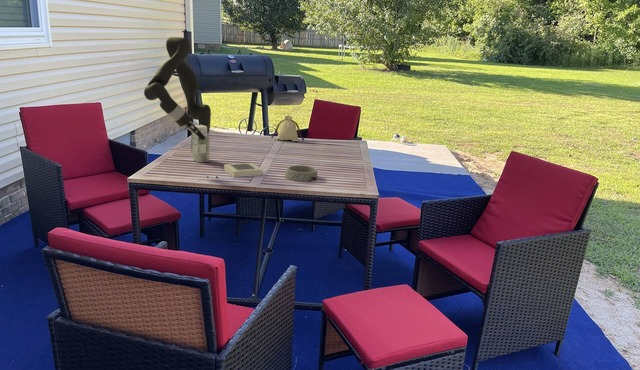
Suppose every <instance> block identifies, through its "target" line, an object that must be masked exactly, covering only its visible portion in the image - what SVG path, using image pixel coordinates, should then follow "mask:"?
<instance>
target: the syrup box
mask: <svg viewBox="0 0 640 370" xmlns="http://www.w3.org/2000/svg"><path fill="white" fill-rule="evenodd" d="M194 125H195V124H194ZM195 126H196V127H197V128H198V130H199V131H201V133H202V134H203V135H204V136H205V137H206V138H205V139H204V140H202V139H201V138H200V137H199V136H197V135H196V134H195V133H192V132H191V139H190V140H191V148H190V149H191V150H190V151H191V154H193V153H194V154H197V155H199V154H206V153H207V127H206V126H204V125H200V124H197V125H195ZM197 132H198V131H196V133H197Z"/></svg>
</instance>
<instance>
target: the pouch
mask: <svg viewBox="0 0 640 370" xmlns="http://www.w3.org/2000/svg"><path fill="white" fill-rule="evenodd" d="M293 118H294V117H293V116H291V115H285V116H284V119H283V120H281V121H280V122H279V123H278V124H277V126H276V127H275V130H274V133H273V134H272V135H271V137H270V138H271V139H273V138H274V137H275V135H276V134H277V132H278V134H277V137H276V139H279V140H299V137H300V138H301V140H302V141H303V142H304V141H305V138H304V137H303V136H302V133H301V130H300V127H299V125H298V123H297V121H295V120H293ZM278 129H279V131H278ZM299 141H300V140H299Z"/></svg>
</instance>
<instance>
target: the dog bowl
mask: <svg viewBox="0 0 640 370" xmlns="http://www.w3.org/2000/svg"><path fill="white" fill-rule="evenodd" d="M318 176H319V175H318V169H316V167H313V166H309V165H304V164H303V165H302V164H300V165H299V164H298V165H295V164H294V165H290V166H287V169H286V172H285V175H284V179H286V180H288V181H291V182H295V183H297V182H298V183H308V182H309V181H310V180H312V179H314V178H315V179H316V181H318V180H319V177H318Z"/></svg>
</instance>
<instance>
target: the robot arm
mask: <svg viewBox="0 0 640 370" xmlns="http://www.w3.org/2000/svg"><path fill="white" fill-rule="evenodd" d="M165 48H166V51H167V54H168V55H169V59H167V60H166V61H164V62H163V63H162V64H161V65H160V66H159V67H158V68H157V70H156V72H155V74H154V75H153V77H152V78H151V79H150V81H149V82H148V83H147V85H146V86H145V88H144V90H143V95H144V97H145V98H146V99H147V100H149V101H155V100H157V99H158V100H159V101H160V103H159V107H160V108H161V109H162V110H163V111H164V112H165V113H166V114H167V115H168V117H170V119H171V120H172V121H173V122H175V123H176V124H177V126H179V127H180V128H182V127H185V128H186V129H187V130H188V131H190V132H191V134H192V133H195V134H196V135H197V136H199V137H200V138H201V139H202V140H204V139H205V138H206V137H205V136H204V135H203V134H202V133H201V131H199V130H198V128H197V127H196V126H195V123H194V122H192V121H190V120H191V118H192V119H193V120H196V121H200V124H199V125H204V126H206V127H207V153H206V154H199V155H197V154H194V153H192V154H193V155H192V156H193V161H194V162H196V163H207V162H210V128H211V117H212V111H211V106H210V105H209V104H203V103H202V104H201V103H199V102H197V99H196V98H197V97H196V95H197V93H198V90H199V86H200V85H199V81H198V78H197V74H196V73H195V71H194V69H192V68H191V67H190V66H189V65H188V64H187V63H186V62H185V61H184V60H186V58H187V57H188V55H189V54H190V52H191V41H190V40H189V39H188V38H186V37H179V36H178V37H177V36H176V37H175V36H174V37H173V36H170V37H168V38H167V39H166V42H165ZM175 71H176V74H177V77H178V79H179V83H180V85H181V88H182V91H183V93H184V94H183V95H184V97H185V99H186V103H187V107H188V112H189V113H188V112H187V111H186V109H184V108H183V107H182V106H181V105H179V104H178V103H177V102H176V101H175V100H174V99H173V98H172V97H171V95H170V93H169V92H168V90H167V88H166V86H167V84H169V82H170V79H171V78H172V76H173V74H174V73H175ZM196 131H198V132H197V133H196Z"/></svg>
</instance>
